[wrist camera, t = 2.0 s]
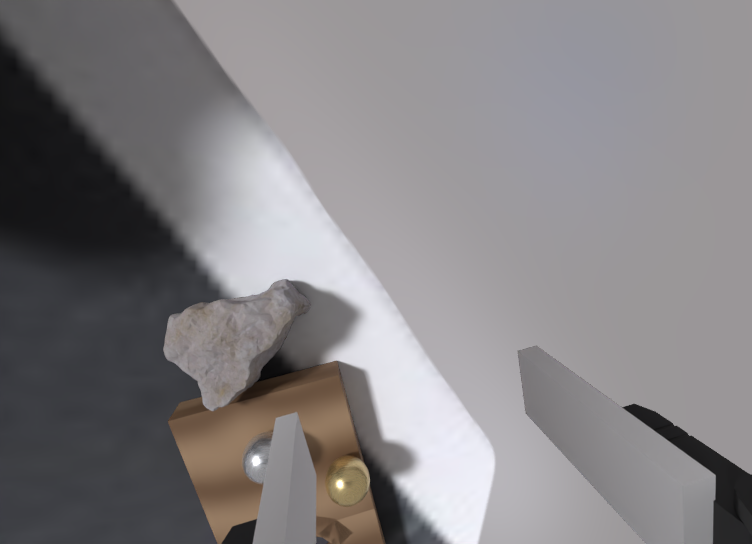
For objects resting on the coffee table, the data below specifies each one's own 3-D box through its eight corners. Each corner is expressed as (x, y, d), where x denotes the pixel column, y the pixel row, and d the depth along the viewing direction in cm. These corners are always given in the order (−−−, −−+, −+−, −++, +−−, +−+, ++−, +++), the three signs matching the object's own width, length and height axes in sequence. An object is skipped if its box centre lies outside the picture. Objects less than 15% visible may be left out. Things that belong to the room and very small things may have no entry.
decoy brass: (320, 452, 30) (320, 486, 27) (361, 440, 31) (367, 471, 27) (330, 487, 31) (331, 524, 28) (371, 475, 31) (377, 510, 28)
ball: (240, 428, 29) (230, 461, 25) (285, 416, 29) (281, 446, 26) (254, 466, 30) (245, 502, 26) (297, 453, 30) (295, 487, 27)
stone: (255, 239, 29) (240, 252, 23) (327, 313, 31) (329, 341, 25) (160, 324, 29) (122, 357, 23) (238, 391, 31) (220, 436, 25)
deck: (179, 402, 30) (167, 421, 28) (337, 360, 31) (338, 375, 29) (258, 602, 36) (253, 632, 33) (389, 559, 37) (394, 585, 34)
